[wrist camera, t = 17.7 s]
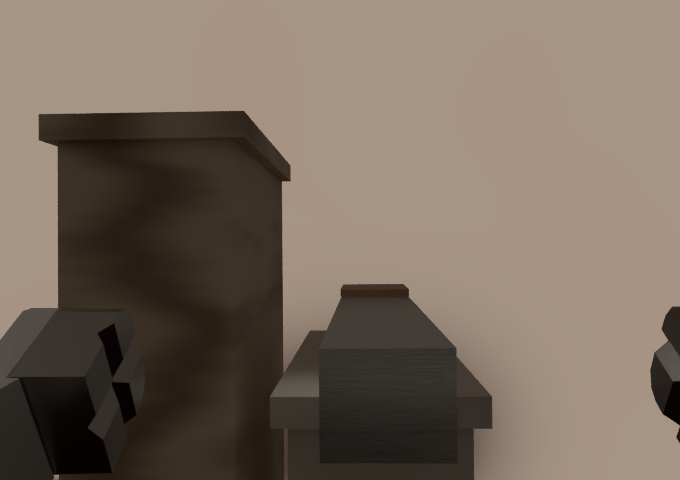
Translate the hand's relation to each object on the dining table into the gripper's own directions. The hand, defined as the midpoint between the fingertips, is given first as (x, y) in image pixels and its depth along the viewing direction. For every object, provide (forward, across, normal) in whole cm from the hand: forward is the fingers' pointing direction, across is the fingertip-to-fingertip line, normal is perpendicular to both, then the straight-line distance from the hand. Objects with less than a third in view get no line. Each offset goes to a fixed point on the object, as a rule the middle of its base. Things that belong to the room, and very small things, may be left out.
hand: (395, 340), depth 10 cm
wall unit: (+10, +9, +28) cm, 31 cm away
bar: (+11, 0, +10) cm, 15 cm away
